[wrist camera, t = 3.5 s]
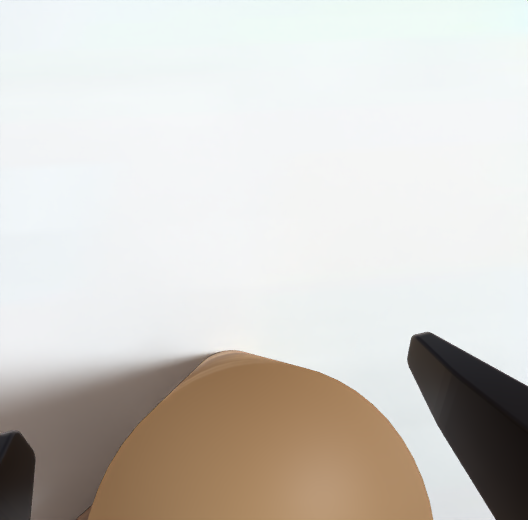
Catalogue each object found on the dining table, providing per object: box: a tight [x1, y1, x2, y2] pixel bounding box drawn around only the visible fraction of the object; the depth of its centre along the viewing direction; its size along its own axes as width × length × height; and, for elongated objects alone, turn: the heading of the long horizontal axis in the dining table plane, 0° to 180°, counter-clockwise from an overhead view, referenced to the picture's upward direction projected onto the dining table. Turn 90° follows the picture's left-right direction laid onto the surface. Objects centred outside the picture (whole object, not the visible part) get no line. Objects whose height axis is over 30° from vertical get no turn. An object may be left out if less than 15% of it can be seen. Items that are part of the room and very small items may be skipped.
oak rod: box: [88, 350, 433, 520], centre depth 10 cm, size 4×4×12 cm
